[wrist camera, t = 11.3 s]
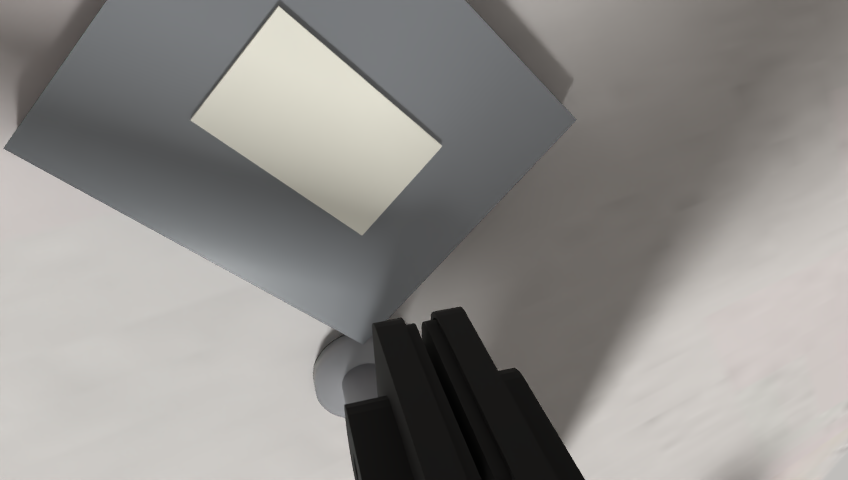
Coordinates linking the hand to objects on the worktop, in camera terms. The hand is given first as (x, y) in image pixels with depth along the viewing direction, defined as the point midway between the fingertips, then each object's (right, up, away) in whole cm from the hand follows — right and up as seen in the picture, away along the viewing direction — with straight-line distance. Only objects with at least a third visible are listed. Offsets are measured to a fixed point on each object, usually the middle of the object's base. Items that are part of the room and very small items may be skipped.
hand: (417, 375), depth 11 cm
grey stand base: (-4, +5, +14) cm, 15 cm away
